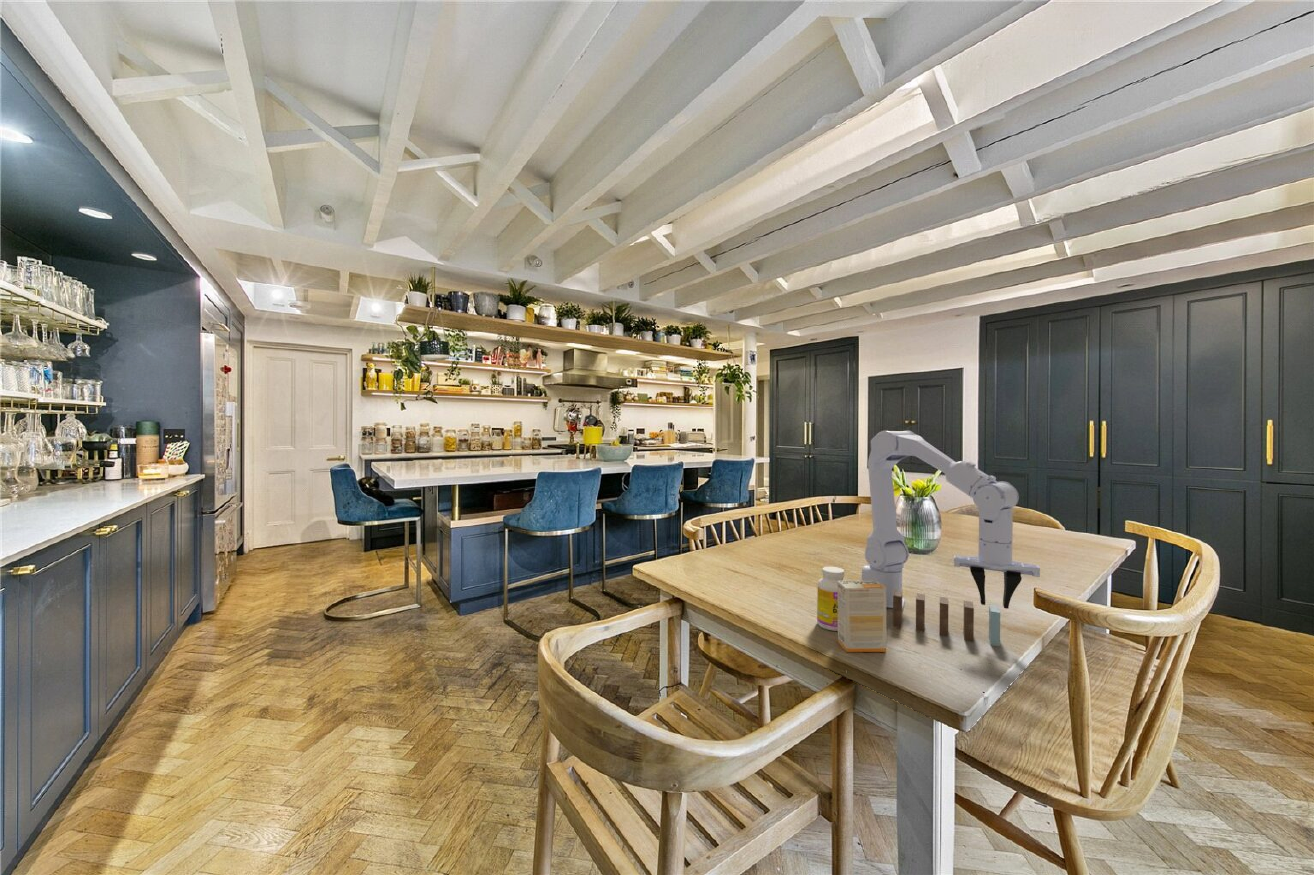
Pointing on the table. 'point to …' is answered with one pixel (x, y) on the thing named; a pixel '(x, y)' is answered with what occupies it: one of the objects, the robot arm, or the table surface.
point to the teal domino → (994, 625)
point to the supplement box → (862, 616)
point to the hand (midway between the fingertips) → (994, 605)
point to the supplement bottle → (828, 598)
